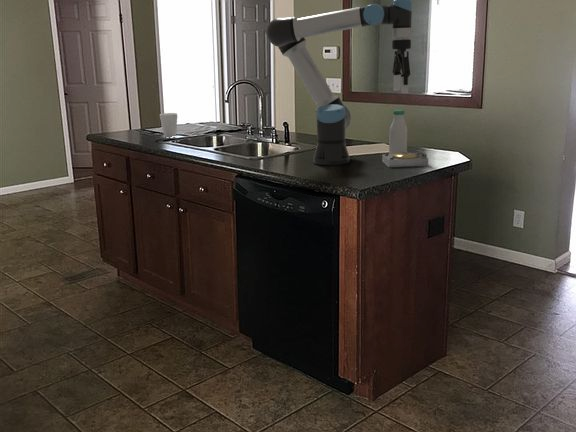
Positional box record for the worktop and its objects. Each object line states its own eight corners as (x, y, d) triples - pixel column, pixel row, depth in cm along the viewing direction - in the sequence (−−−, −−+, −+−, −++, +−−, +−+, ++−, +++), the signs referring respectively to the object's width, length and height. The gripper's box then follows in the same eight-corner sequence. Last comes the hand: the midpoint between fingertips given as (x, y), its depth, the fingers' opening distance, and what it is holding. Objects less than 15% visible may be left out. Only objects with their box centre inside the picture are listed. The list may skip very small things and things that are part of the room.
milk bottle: (406, 158, 258) (407, 111, 252) (387, 158, 260) (388, 111, 254) (407, 155, 265) (408, 109, 260) (389, 155, 267) (390, 109, 262)
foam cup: (159, 139, 332) (157, 115, 328) (165, 136, 341) (163, 113, 337) (175, 138, 330) (173, 115, 327) (181, 136, 339) (179, 112, 336)
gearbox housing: (388, 167, 242) (388, 156, 241) (382, 161, 254) (382, 150, 252) (428, 165, 243) (428, 154, 242) (419, 159, 255) (420, 149, 253)
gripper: (418, 38, 236) (417, 94, 242) (403, 38, 260) (402, 89, 266) (399, 39, 236) (399, 94, 242) (385, 39, 260) (385, 89, 266)
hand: (400, 92), depth 254 cm, fingers open, 13 cm apart
